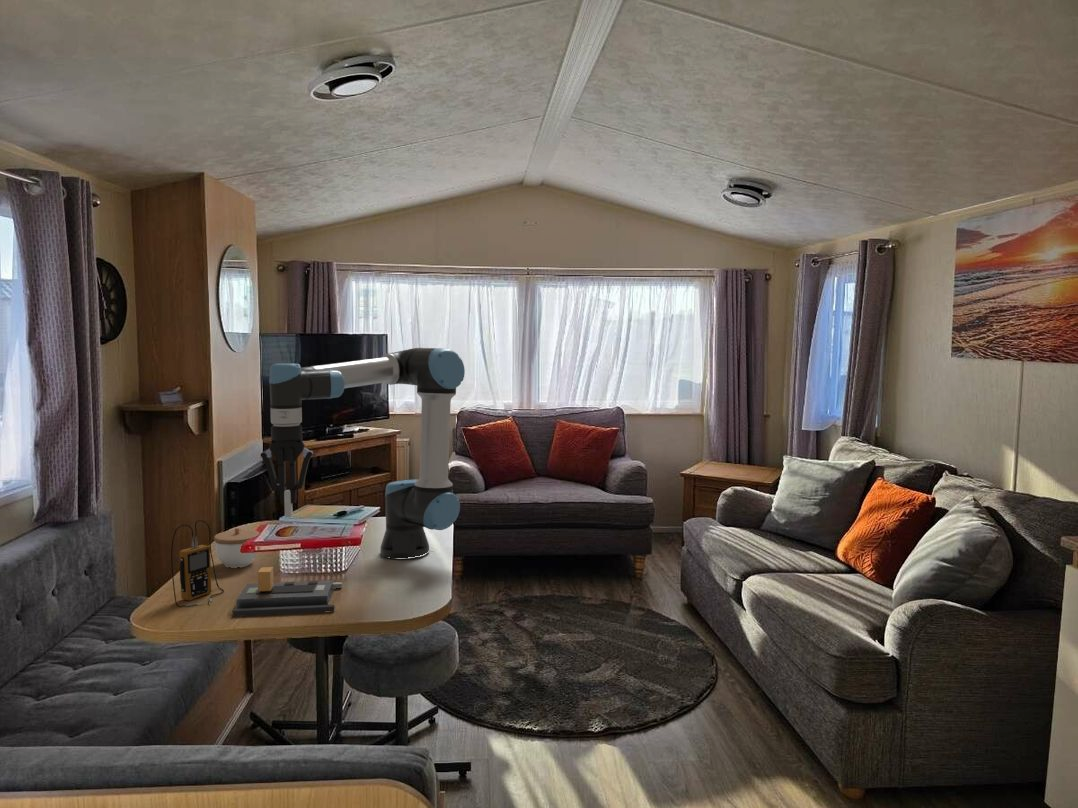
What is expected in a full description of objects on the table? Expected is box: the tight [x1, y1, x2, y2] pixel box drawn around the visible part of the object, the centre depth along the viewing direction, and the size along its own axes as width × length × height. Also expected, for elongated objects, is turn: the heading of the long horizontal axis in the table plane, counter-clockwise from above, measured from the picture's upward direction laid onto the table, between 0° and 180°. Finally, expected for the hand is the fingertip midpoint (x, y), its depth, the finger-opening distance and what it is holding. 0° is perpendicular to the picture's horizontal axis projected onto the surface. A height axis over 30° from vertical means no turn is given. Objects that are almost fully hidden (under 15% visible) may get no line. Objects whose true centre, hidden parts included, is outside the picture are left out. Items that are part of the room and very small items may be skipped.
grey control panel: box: [235, 580, 334, 609], centre depth 199 cm, size 22×12×3 cm, turn 98°
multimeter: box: [170, 519, 225, 608], centre depth 199 cm, size 15×10×20 cm
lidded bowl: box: [213, 527, 260, 569], centre depth 229 cm, size 13×13×11 cm
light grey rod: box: [333, 581, 343, 590], centre depth 208 cm, size 24×1×1 cm, turn 98°
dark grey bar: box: [232, 604, 336, 617], centre depth 190 cm, size 24×1×1 cm, turn 98°
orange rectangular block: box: [257, 566, 275, 591], centre depth 198 cm, size 3×4×5 cm
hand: (288, 515), depth 197 cm, fingers closed
